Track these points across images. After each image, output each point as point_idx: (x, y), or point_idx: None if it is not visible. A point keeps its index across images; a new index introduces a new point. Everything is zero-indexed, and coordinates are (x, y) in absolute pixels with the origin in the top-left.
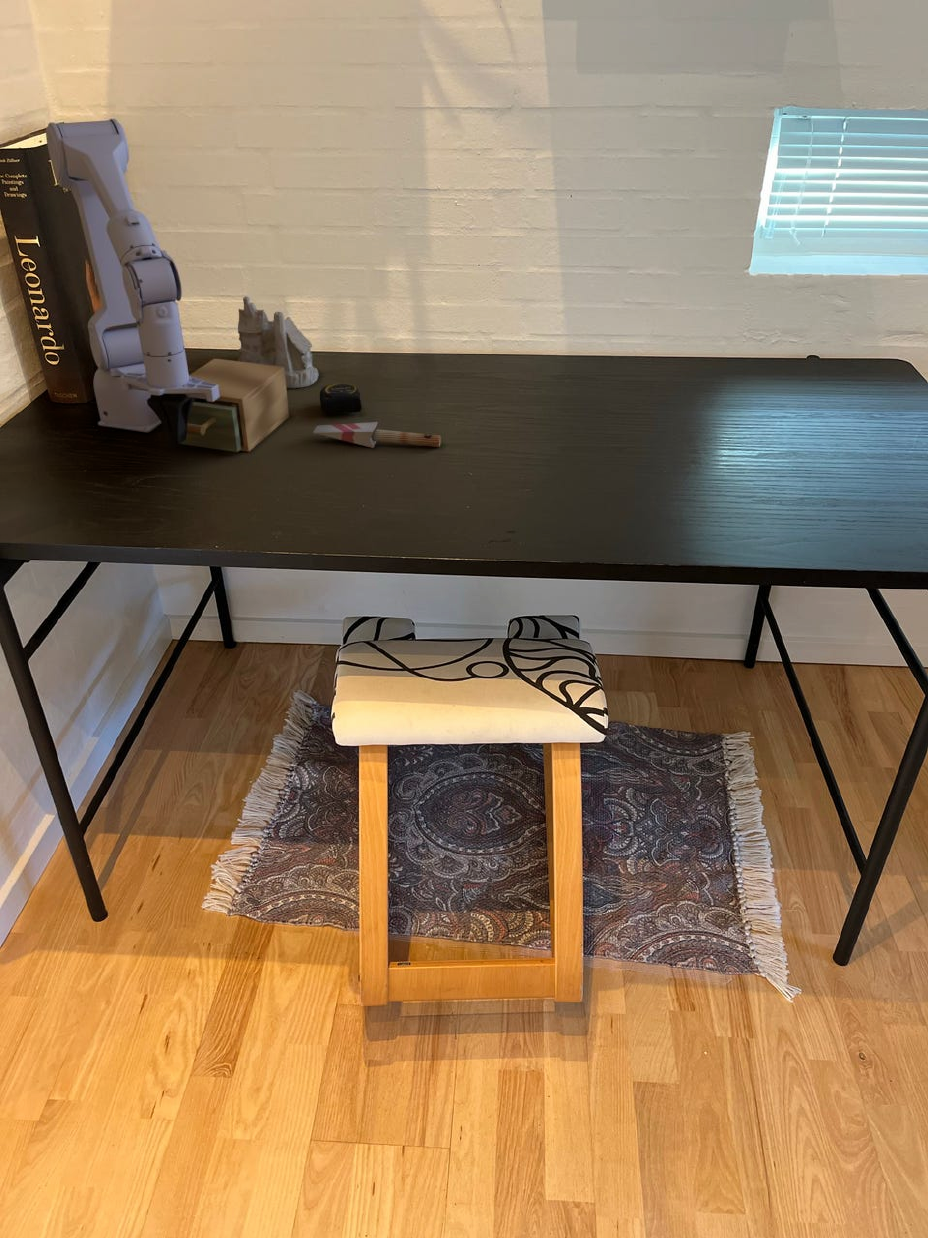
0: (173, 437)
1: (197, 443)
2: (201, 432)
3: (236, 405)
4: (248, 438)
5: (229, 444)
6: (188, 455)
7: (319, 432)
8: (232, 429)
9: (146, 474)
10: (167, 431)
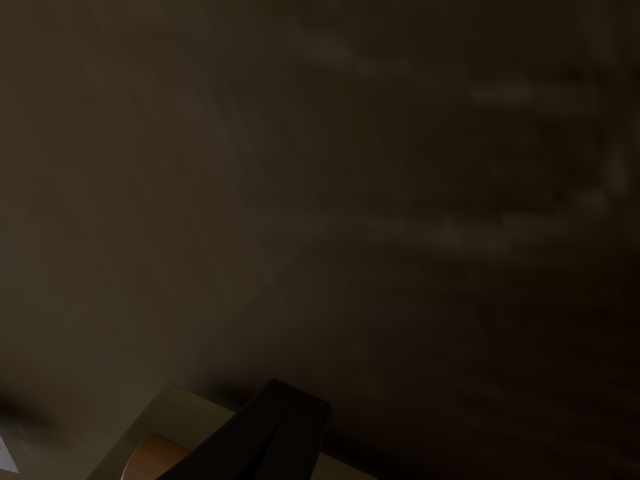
0: (274, 422)
1: (339, 475)
2: (140, 443)
3: None
4: None
5: (179, 418)
6: (389, 423)
7: None
8: (104, 470)
9: (572, 264)
10: (290, 476)
